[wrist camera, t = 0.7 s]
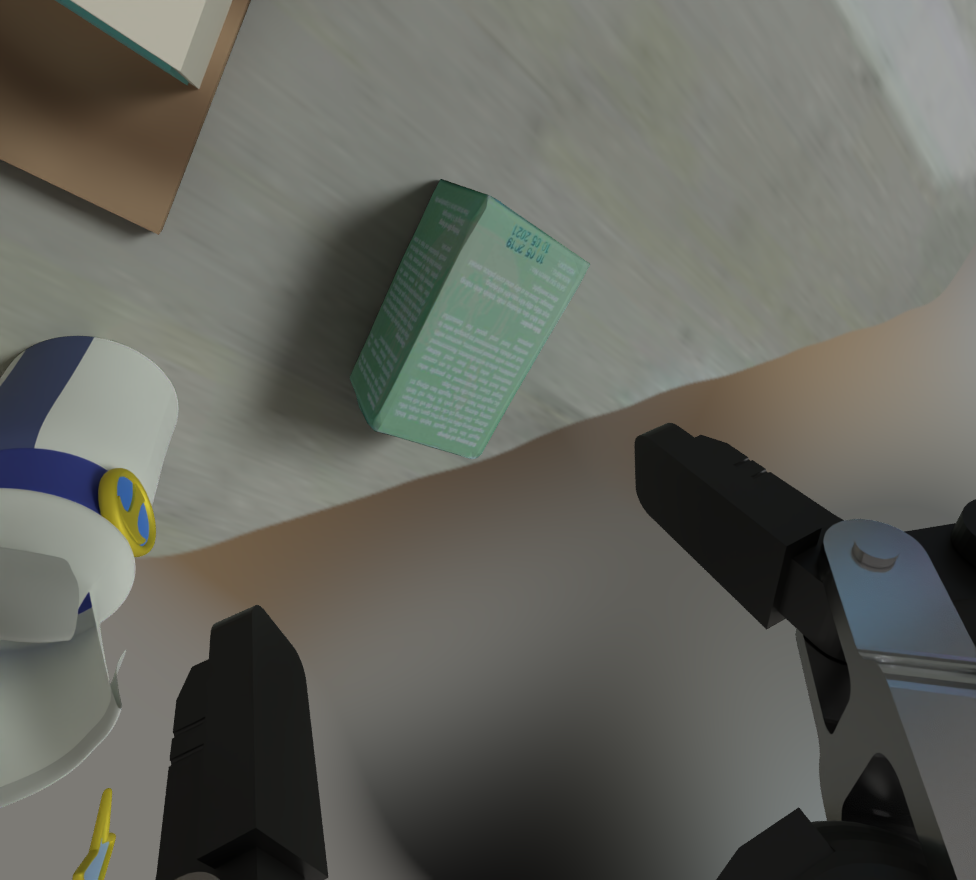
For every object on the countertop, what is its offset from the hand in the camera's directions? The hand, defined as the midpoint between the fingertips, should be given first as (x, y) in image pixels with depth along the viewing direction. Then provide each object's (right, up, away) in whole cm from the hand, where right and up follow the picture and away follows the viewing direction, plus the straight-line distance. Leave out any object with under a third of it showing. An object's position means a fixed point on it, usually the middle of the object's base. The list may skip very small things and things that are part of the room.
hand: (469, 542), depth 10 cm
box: (-3, +11, +22) cm, 25 cm away
